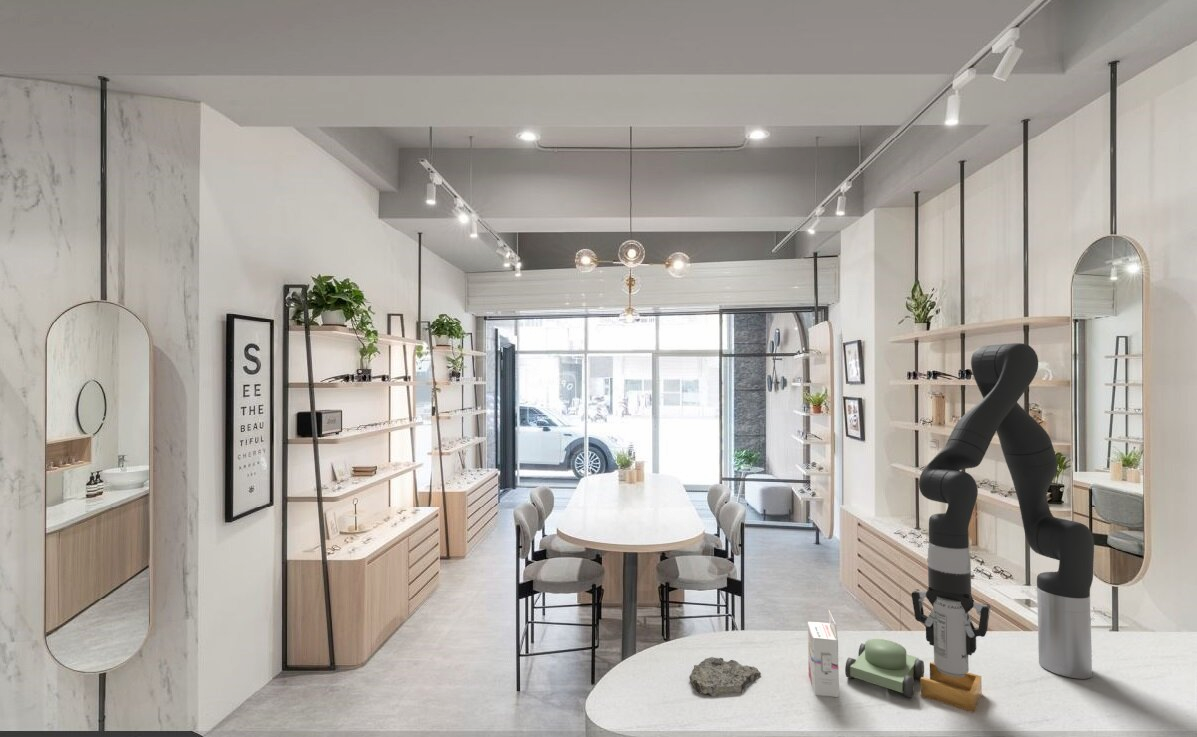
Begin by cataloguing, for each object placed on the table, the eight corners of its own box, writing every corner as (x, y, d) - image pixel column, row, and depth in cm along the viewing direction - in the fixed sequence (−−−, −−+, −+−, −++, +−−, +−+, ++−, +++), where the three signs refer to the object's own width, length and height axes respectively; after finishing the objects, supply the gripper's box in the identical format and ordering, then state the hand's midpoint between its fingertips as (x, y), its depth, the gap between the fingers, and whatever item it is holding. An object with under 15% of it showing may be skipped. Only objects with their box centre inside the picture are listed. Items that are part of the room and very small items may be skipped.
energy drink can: (972, 681, 112) (970, 604, 113) (937, 675, 114) (936, 600, 115) (964, 667, 118) (962, 594, 118) (931, 662, 120) (930, 590, 120)
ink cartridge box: (807, 674, 124) (806, 606, 124) (831, 677, 123) (830, 608, 123) (813, 695, 116) (813, 622, 116) (839, 698, 115) (838, 624, 115)
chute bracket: (930, 678, 122) (930, 661, 122) (981, 693, 116) (981, 676, 116) (920, 695, 115) (920, 678, 116) (974, 712, 109) (973, 694, 109)
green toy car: (864, 657, 132) (864, 629, 132) (924, 675, 123) (924, 645, 124) (844, 681, 121) (844, 650, 121) (908, 702, 113) (908, 669, 113)
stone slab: (673, 686, 120) (673, 672, 120) (715, 657, 133) (715, 644, 133) (725, 709, 112) (725, 694, 112) (764, 676, 124) (764, 662, 124)
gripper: (993, 569, 115) (995, 653, 114) (914, 555, 124) (915, 632, 124) (988, 578, 109) (990, 667, 109) (905, 563, 119) (907, 644, 118)
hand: (950, 648), depth 116 cm, fingers closed on energy drink can, 6 cm apart
